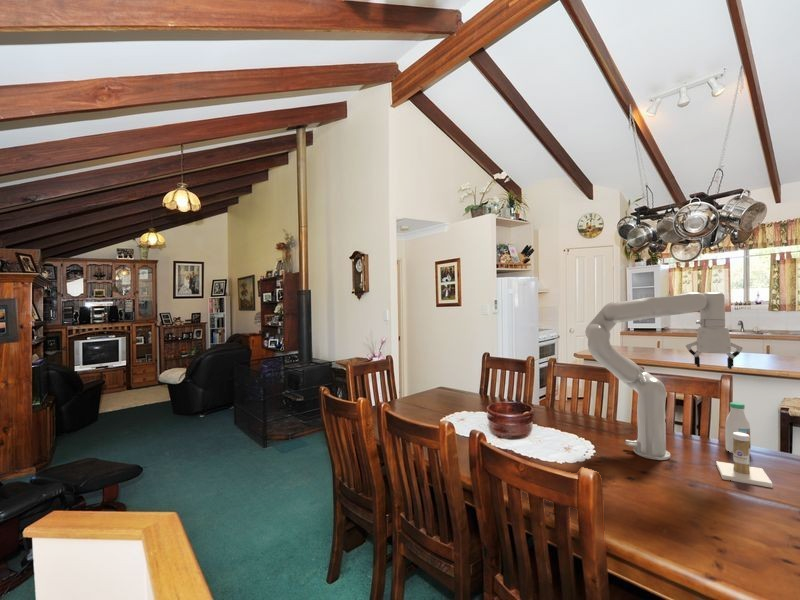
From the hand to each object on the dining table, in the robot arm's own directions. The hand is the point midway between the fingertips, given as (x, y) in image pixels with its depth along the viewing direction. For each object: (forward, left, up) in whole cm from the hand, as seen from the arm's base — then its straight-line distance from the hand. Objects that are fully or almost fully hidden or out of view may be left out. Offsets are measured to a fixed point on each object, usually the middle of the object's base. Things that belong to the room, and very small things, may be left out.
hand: (713, 367), depth 151 cm
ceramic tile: (+6, -12, -36) cm, 39 cm away
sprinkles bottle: (+6, -12, -35) cm, 37 cm away
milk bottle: (+9, +14, -36) cm, 40 cm away
